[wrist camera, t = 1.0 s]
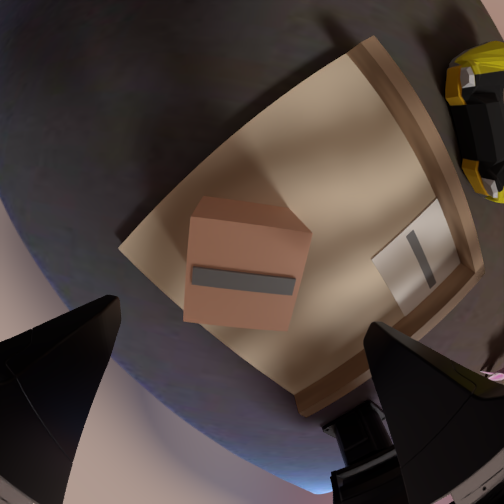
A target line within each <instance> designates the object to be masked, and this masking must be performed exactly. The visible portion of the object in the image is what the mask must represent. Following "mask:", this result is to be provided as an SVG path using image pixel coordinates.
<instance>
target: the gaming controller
mask: <svg viewBox="0 0 504 504" xmlns="http://www.w3.org/2000/svg"><path fill="white" fill-rule="evenodd" d="M503 88H504V43H503V42H499V41H492V42H486V43H483V44H480V45H477V46H475V47H472V48H470V49H467V50H465V51H463V52H462V53H460V54H459V55H458V56H456V57H455V58H453V59H452V60H451V62H450V63H449V68H448V69H447V78H446V88H445V99H446V100H447V101H448V103H449V104H450V108H451V112H452V116H453V119H454V123H455V127H456V131H457V136H458V140H459V145H460V150H461V155H462V158H463V162H462V169H463V171H464V174H465V175H466V177H467V179H468V180H469V182H470V184H471V185H472V187H473V189H474V190H475V192H476V193H479V195H480V196H481V197H483V198H485V199H488V200H491V201H494V202H498V203H504V103H503Z"/></svg>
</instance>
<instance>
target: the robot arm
mask: <svg viewBox="0 0 504 504" xmlns="http://www.w3.org/2000/svg"><path fill="white" fill-rule="evenodd" d="M120 324H121V310H120V300H119V298H118V297H117V296H113V295H105V296H103V297H101V298H98V299H96V300H94V301H92V302H89V303H87V304H85V305H83V306H80V307H78V308H76V309H74V310H71V311H69V312H67V313H65V314H63V315H60V316H58V317H56V318H54V319H52V320H49V321H47V322H45V323H43V324H41V325H39V326H36V327H34V328H33V329H30V330H28V331H25V332H23V333H21V334H19V335H16V336H14V337H12V338H10V339H7V340H4V341H2V342H0V504H33V503H35V504H63V499H64V495H65V491H66V487H67V483H68V479H69V475H70V471H71V467H72V464H73V463H72V462H73V460H74V457H75V453H76V449H77V447H78V443H79V440H80V437H81V434H82V431H83V428H84V425H85V422H86V419H87V416H88V414H89V411H90V408H91V405H92V403H93V400H94V397H95V395H96V392H97V389H98V387H99V384H100V382H101V379H102V377H103V374H104V371H105V369H106V367H107V365H108V362H109V359H110V357H111V353H112V350H113V346H114V343H115V340H116V336H117V333H118V330H119V327H120ZM363 346H364V350H365V354H366V357H367V361H368V365H369V369H370V373H371V377H372V380H373V383H374V386H375V388H376V391H377V394H378V397H379V400H380V403H381V406H382V409H383V411H382V410H381V409H379V408H378V407H377V406H376V405H375V404H374V403H373V402H371V401H366V402H365V403H363V404H362V405H360V406H358V407H357V408H355V409H354V410H352V411H350V412H349V413H347V414H345V415H344V416H342V417H340V418H338V419H337V420H335V421H333V422H331V423H330V424H328V425H326V426H324V427H323V428H322V430H323V432H325V433H326V434H328V435H330V436H332V437H335V438H336V439H337V442H338V445H339V448H340V451H341V454H342V457H343V460H344V464H345V468H342V469H340V470H337V471H336V470H335V471H333V472H331V475H332V476H331V477H330V479H331V483H332V489H333V504H433V503H435V502H437V501H439V500H441V499H442V498H444V497H446V496H447V495H449V494H451V496H452V498H453V500H454V501H453V502H451V503H449V504H504V385H503V384H499V383H496V382H494V381H492V380H490V379H488V378H486V377H484V376H482V375H479V374H477V373H475V372H473V371H471V370H469V369H467V368H465V367H463V366H462V365H460V364H458V363H456V362H454V361H452V360H450V359H449V358H447V357H445V356H443V355H441V354H440V353H438V352H436V351H434V350H432V349H431V348H429V347H427V346H425V345H423V344H422V343H420V342H418V341H416V340H414V339H412V338H411V337H409V336H407V335H405V334H403V333H402V332H400V331H398V330H396V329H394V328H392V327H391V326H389V325H387V324H385V323H383V322H380V321H374V322H372V323H371V324H370V325H369V328H368V330H367V332H366V335H365V337H364V340H363ZM385 419H386V421H387V424H388V427H389V430H390V434H391V437H392V440H393V443H394V444H392V441H391V439H390V437H389V435H388V433H387V431H386V429H385V427H384V424H383V422H382V421H383V420H385Z"/></svg>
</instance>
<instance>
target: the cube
mask: <svg viewBox="0 0 504 504" xmlns="http://www.w3.org/2000/svg"><path fill="white" fill-rule="evenodd" d="M312 235H313V233H312V232H311V231H310V230H309V229H308V227H307V226H306V225H305V224H304V223H303V222H302V221H301V220H300V219H299V218H298V217H297V216H296V215H295V214H294V213H293V212H292V211H291V210H290V209H289V208H285V207H279V206H273V205H266V204H259V203H253V202H246V201H239V200H231V199H224V198H216V197H208V196H203V197H202V199H201V200H200V202H199V203H198V205H197V207H196V208H195V210H194V212H193V213H192V215H191V217H190V227H189V238H188V250H187V263H186V277H185V294H184V315H183V321H185V322H192V323H200V324H208V325H217V326H226V327H236V328H247V329H259V330H273V331H288V328H289V324H290V321H291V317H292V313H293V310H294V306H295V302H296V299H297V295H298V291H299V288H300V284H301V280H302V276H303V272H304V268H305V264H306V260H307V256H308V252H309V248H310V243H311V239H312Z"/></svg>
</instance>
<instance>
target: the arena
mask: <svg viewBox="0 0 504 504" xmlns="http://www.w3.org/2000/svg"><path fill="white" fill-rule="evenodd" d="M203 196H208V197H216V198H224V199H231V200H239V201H246V202H253V203H259V204H266V205H273V206H279V207H285V208H289V209H290V210H291V211H292V212H293V213H294V214H295V215H296V216H297V217H298V218H299V219H300V220H301V221H302V222H303V223H304V224H305V225H306V226H307V227H308V229H309V230H310V231H311V232H312V233H313V235H312V239H311V243H310V248H309V252H308V256H307V260H306V264H305V268H304V272H303V276H302V280H301V284H300V288H299V291H298V295H297V299H296V302H295V306H294V310H293V313H292V317H291V321H290V324H289V328H288V331H273V330H259V329H247V328H236V327H226V326H217V325H208V324H200V323H199V324H200V325H202V326H203V327H204V328H205V329H206V330H208V331H209V332H210V333H211V334H213V335H214V336H215V337H216V338H217V339H219V340H220V341H221V342H222V343H224V344H225V345H226V346H228V347H229V348H230V349H231V350H233V351H234V352H235V353H237V354H238V355H239V356H240V357H242V358H243V359H244V360H246V361H247V362H248V363H250V364H251V365H252V366H254V367H255V368H256V369H258V370H259V371H261V372H262V373H263V374H265V375H266V376H268V377H269V378H270V379H272V380H273V381H275V382H276V383H277V384H279V385H280V386H282V387H283V388H285V389H286V390H288V391H289V392H290V393H292V394H293V395H294V397H295V401H296V405H297V409H298V413H299V414H301V415H302V416H304V417H306V418H307V417H308V416H310V415H312V414H314V413H316V412H317V411H319V410H321V409H323V408H324V407H326V406H328V405H330V404H331V403H333V402H335V401H336V400H338V399H339V398H341V397H343V396H344V395H346V394H347V393H349V392H351V391H352V390H354V389H355V388H357V387H358V386H360V385H361V384H363V383H364V382H365V381H367V380H368V379H370V378H371V373H370V369H369V365H368V361H367V357H366V354H365V350H364V346H363V340H364V337H365V335H366V332H367V330H368V328H369V325H370V324H371V323H372V322H374V321H380V322H383V323H385V324H387V325H389V326H391V327H392V328H394V329H396V330H398V331H400V332H402V333H403V334H405V335H407V336H409V337H411V338H412V339H414V340H416V341H419V340H420V339H421V338H422V337H423V336H424V335H426V334H427V333H428V332H429V331H430V330H431V329H432V328H433V327H434V326H435V325H437V324H438V323H439V322H440V321H441V320H442V319H443V318H444V317H445V316H446V315H447V314H448V313H449V312H450V311H451V310H452V309H453V308H454V307H455V306H456V305H457V304H458V303H459V302H460V301H461V300H462V299H463V298H464V297H465V295H466V294H467V293H468V292H469V291H470V290H471V289H472V288H473V287H474V286H475V284H476V283H477V282H478V281H479V280H480V279H481V277H482V276H483V275H484V274H485V268H484V263H483V258H482V254H481V249H480V245H479V241H478V237H477V233H476V229H475V226H474V222H473V219H472V216H471V212H470V209H469V206H468V203H467V200H466V197H465V194H464V191H463V189H462V186H461V183H460V181H459V178H458V176H457V173H456V171H455V168H454V166H453V163H452V161H451V159H450V157H449V154H448V152H447V150H446V148H445V146H444V143H443V141H442V139H441V137H440V135H439V133H438V131H437V129H436V127H435V126H434V124H433V122H432V120H431V118H430V116H429V114H428V113H427V111H426V109H425V107H424V106H423V104H422V102H421V101H420V99H419V97H418V96H417V94H416V93H415V91H414V89H413V88H412V86H411V85H410V83H409V82H408V80H407V79H406V77H405V76H404V74H403V73H402V71H401V70H400V69H399V67H398V66H397V64H396V63H395V62H394V60H393V59H392V58H391V56H390V55H389V54H388V52H387V51H386V50H385V49H384V47H383V46H382V45H381V44H380V42H379V41H378V40H377V39H376V37H375V36H372V37H370V38H368V39H366V40H365V41H363V42H361V43H360V44H358V45H357V46H355V47H354V48H353V49H351V50H350V51H348V52H347V53H346V54H344V55H342V56H341V57H339V58H338V59H336V60H334V61H333V62H331V63H330V64H328V65H326V66H325V67H323V68H322V69H320V70H319V71H317V72H316V73H314V74H313V75H311V76H310V77H308V78H307V79H305V80H304V81H303V82H301V83H300V84H298V85H297V86H295V87H294V88H293V89H291V90H290V91H288V92H287V93H286V94H284V95H283V96H282V97H280V98H279V99H278V100H276V101H275V102H274V103H272V104H271V105H270V106H268V107H267V108H266V109H264V110H263V111H262V112H261V113H259V114H258V115H257V116H255V117H254V118H253V119H252V120H250V121H249V122H248V123H247V124H246V125H244V126H243V127H242V128H241V129H239V130H238V131H237V132H236V133H235V134H233V135H232V136H231V137H230V138H229V139H228V140H226V141H225V142H224V143H223V144H222V145H221V146H219V147H218V148H217V149H216V150H215V151H214V152H213V153H211V154H210V155H209V156H208V157H207V158H206V159H205V160H204V161H203V162H202V163H200V164H199V165H198V166H197V167H196V168H195V169H194V170H193V171H192V172H191V173H190V174H189V175H188V176H187V177H185V178H184V179H183V180H182V181H181V182H180V183H179V184H178V185H177V186H176V187H175V188H174V189H173V190H172V191H171V192H170V193H169V194H168V195H167V196H166V197H165V198H164V199H163V200H162V201H161V202H160V203H159V204H158V205H157V206H156V207H155V208H154V209H153V210H152V211H151V213H150V214H149V215H148V216H147V217H146V218H145V219H144V220H143V221H142V222H141V223H140V224H139V225H138V226H137V228H136V229H135V230H134V231H133V232H132V233H131V234H130V235H129V236H128V237H127V239H126V240H125V241H124V242H123V243H122V244H121V245H120V247H119V248H118V249H119V250H120V251H121V252H122V253H123V254H124V255H125V256H126V257H127V258H128V259H129V260H130V261H131V262H132V263H133V264H134V265H135V266H136V267H137V268H138V269H139V270H140V271H141V272H142V273H143V274H144V275H145V276H147V277H148V278H149V279H150V280H151V281H152V282H153V283H154V284H155V285H156V286H157V287H158V288H159V289H160V290H162V291H163V292H164V293H165V294H166V295H167V296H168V297H169V298H170V299H171V300H173V301H174V302H175V303H176V304H177V305H178V306H179V307H181V308H182V309H183V310H184V294H185V277H186V263H187V250H188V238H189V227H190V217H191V215H192V213H193V212H194V210H195V208H196V207H197V205H198V203H199V202H200V200H201V199H202V197H203Z"/></svg>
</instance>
